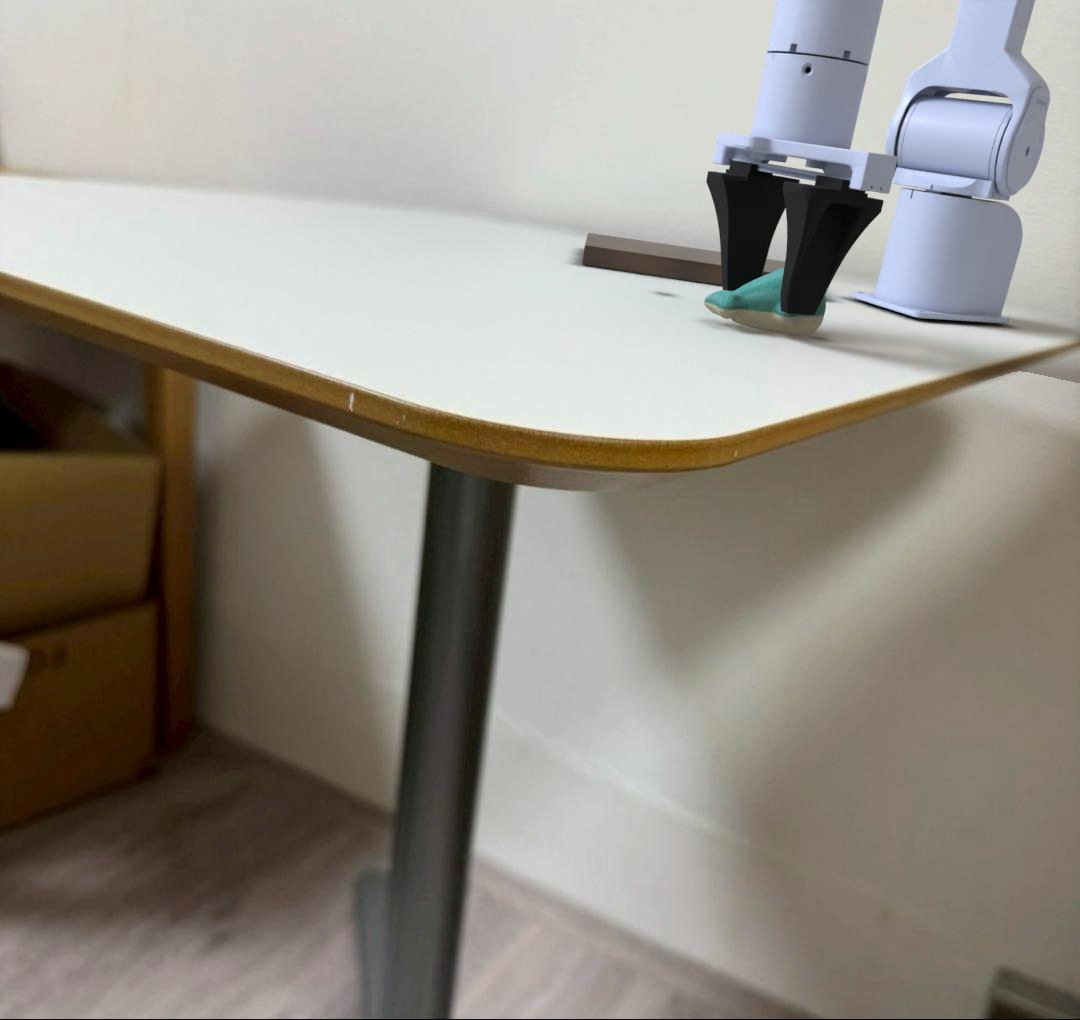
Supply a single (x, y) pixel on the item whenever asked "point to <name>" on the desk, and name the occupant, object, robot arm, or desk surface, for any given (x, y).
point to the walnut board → (658, 259)
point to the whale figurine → (763, 307)
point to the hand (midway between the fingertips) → (766, 302)
